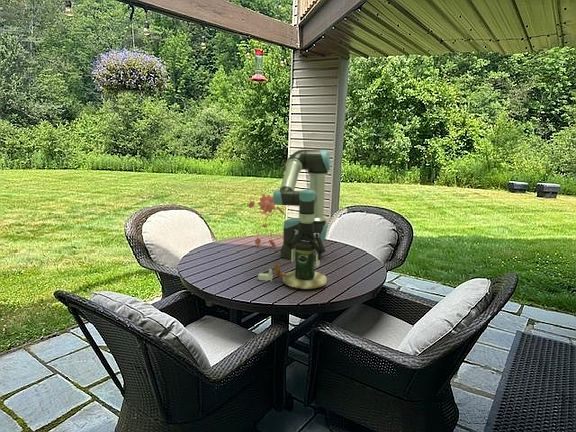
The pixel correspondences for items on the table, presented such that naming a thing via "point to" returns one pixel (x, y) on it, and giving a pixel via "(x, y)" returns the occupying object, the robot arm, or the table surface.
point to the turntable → (292, 281)
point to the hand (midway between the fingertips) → (305, 263)
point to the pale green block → (266, 276)
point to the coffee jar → (304, 260)
